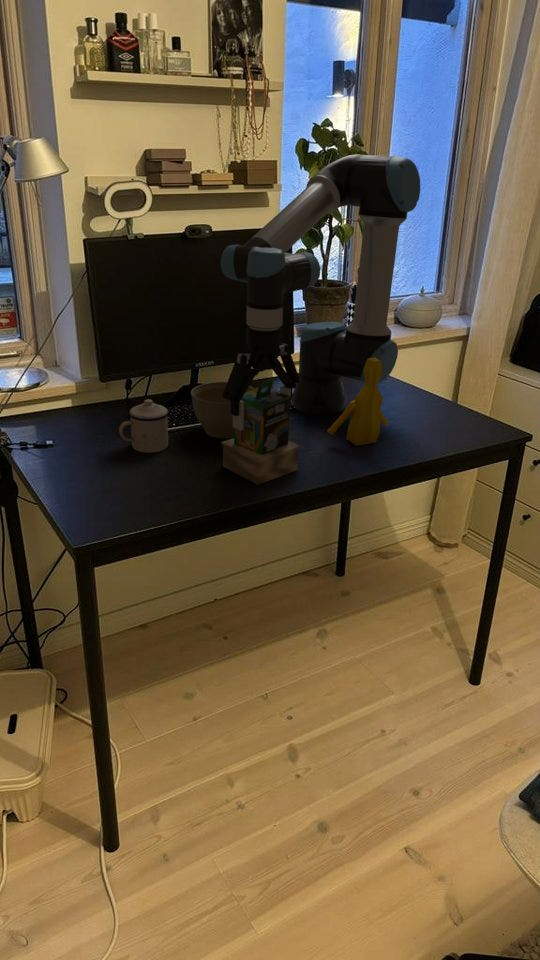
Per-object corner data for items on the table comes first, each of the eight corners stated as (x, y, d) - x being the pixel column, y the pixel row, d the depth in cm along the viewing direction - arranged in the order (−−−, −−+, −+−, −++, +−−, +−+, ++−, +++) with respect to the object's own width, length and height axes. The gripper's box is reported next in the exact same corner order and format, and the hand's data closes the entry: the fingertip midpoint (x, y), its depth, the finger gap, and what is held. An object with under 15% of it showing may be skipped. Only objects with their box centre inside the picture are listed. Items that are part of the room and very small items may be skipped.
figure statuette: (381, 431, 188) (390, 348, 179) (399, 442, 182) (409, 357, 172) (322, 441, 181) (328, 355, 171) (338, 453, 175) (345, 364, 165)
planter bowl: (238, 417, 194) (239, 378, 190) (266, 438, 182) (267, 397, 177) (182, 426, 187) (181, 385, 183) (207, 449, 175) (206, 406, 170)
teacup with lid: (159, 436, 181) (158, 391, 176) (175, 449, 174) (174, 403, 169) (113, 445, 175) (110, 399, 170) (128, 459, 168) (125, 411, 163)
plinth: (262, 452, 174) (263, 429, 171) (299, 470, 165) (300, 445, 163) (221, 466, 166) (221, 441, 163) (257, 485, 158) (258, 460, 155)
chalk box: (259, 432, 169) (260, 371, 162) (289, 443, 164) (292, 380, 157) (231, 444, 163) (232, 380, 156) (262, 455, 157) (264, 390, 151)
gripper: (295, 314, 162) (290, 404, 171) (205, 331, 146) (206, 429, 156) (319, 321, 157) (313, 413, 166) (229, 339, 141) (228, 440, 151)
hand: (261, 421), depth 161 cm, fingers open, 13 cm apart
